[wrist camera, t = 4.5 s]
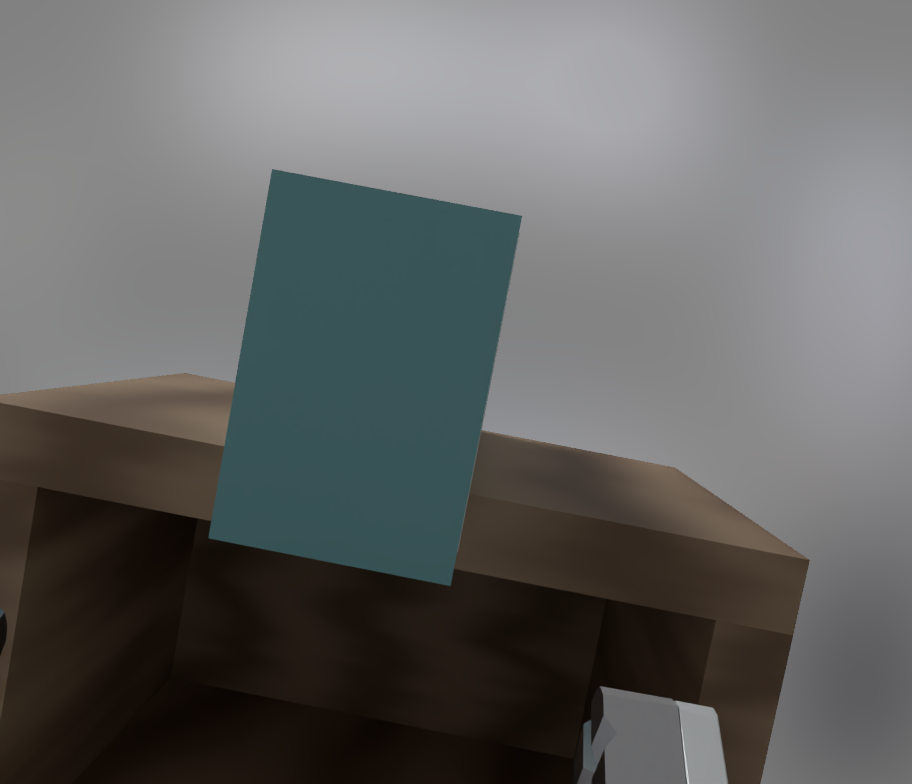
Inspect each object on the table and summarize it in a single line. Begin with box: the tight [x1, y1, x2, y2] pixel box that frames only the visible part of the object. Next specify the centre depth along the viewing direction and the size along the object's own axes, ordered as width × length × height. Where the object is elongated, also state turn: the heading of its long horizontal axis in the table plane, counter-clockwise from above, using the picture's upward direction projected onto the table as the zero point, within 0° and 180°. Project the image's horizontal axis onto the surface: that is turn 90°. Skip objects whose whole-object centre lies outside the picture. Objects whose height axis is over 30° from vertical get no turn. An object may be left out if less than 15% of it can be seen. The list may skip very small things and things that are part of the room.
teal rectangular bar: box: [208, 169, 522, 586], centre depth 26 cm, size 4×24×6 cm, turn 178°
